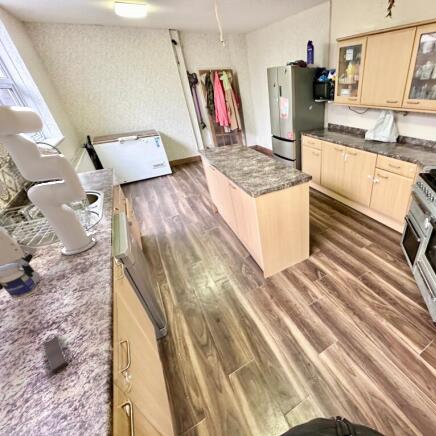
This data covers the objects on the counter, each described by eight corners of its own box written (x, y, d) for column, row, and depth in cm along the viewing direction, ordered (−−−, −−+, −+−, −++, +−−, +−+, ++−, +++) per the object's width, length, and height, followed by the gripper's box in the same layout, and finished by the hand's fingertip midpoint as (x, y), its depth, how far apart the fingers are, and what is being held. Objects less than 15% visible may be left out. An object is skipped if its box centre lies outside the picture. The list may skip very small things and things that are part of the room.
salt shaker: (29, 288, 87) (7, 261, 81) (18, 287, 88) (-5, 260, 82) (46, 277, 92) (27, 251, 86) (35, 276, 93) (15, 250, 87)
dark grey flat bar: (45, 346, 66) (43, 343, 66) (59, 338, 68) (57, 335, 68) (53, 373, 59) (51, 371, 59) (68, 364, 61) (66, 361, 61)
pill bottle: (8, 302, 70) (-15, 277, 65) (19, 289, 74) (-1, 264, 69) (32, 295, 71) (12, 271, 66) (42, 283, 76) (23, 259, 71)
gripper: (18, 214, 70) (51, 261, 78) (-78, 240, 58) (-27, 293, 67) (21, 221, 65) (56, 270, 74) (-83, 251, 54) (-28, 305, 63)
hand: (16, 280), depth 70 cm, fingers closed on pill bottle, 5 cm apart
